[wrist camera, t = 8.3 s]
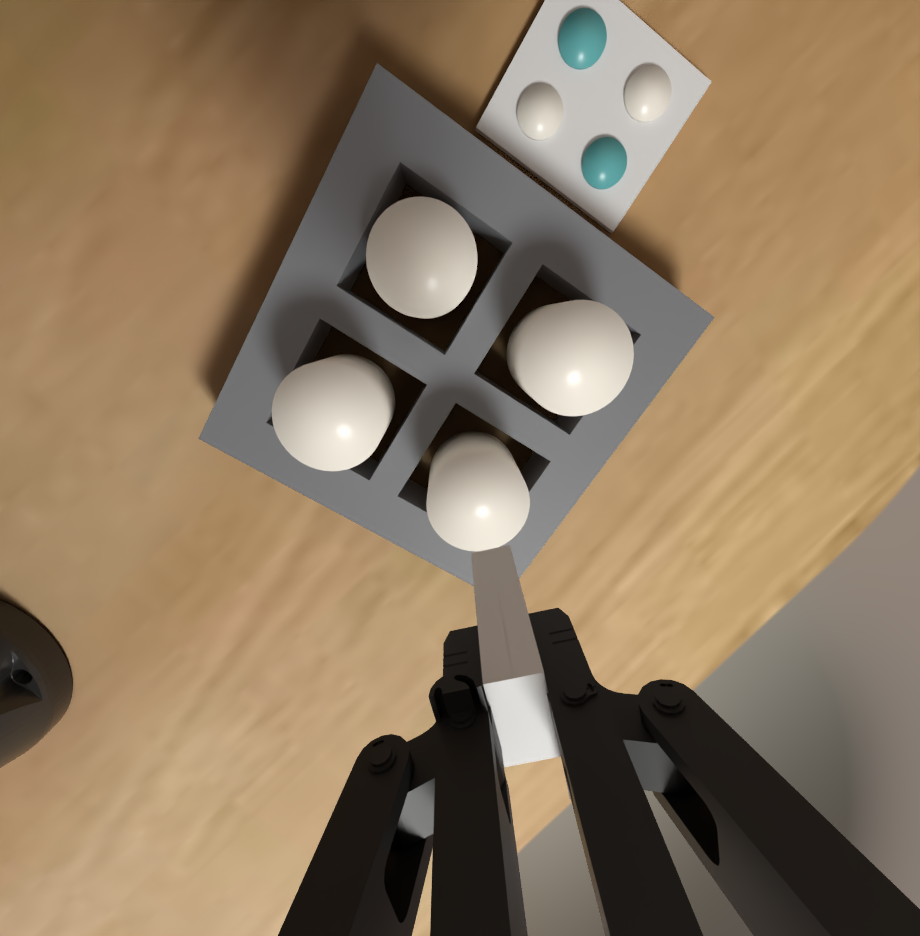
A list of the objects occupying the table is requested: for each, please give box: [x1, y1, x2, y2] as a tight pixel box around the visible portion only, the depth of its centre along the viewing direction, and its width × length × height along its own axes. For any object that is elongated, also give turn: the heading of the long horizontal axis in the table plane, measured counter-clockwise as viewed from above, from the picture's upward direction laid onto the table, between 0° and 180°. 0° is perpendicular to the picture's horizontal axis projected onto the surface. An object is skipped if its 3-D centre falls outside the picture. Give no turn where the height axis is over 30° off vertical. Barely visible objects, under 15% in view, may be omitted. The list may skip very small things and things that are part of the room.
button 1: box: [272, 354, 396, 471], centre depth 26 cm, size 6×6×6 cm
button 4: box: [507, 300, 634, 416], centre depth 25 cm, size 6×6×6 cm
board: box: [199, 63, 714, 586], centre depth 29 cm, size 22×22×4 cm
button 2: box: [366, 197, 477, 319], centre depth 26 cm, size 6×6×6 cm
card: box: [475, 0, 711, 233], centre depth 26 cm, size 10×9×1 cm
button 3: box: [426, 431, 530, 551], centre depth 27 cm, size 6×6×6 cm
